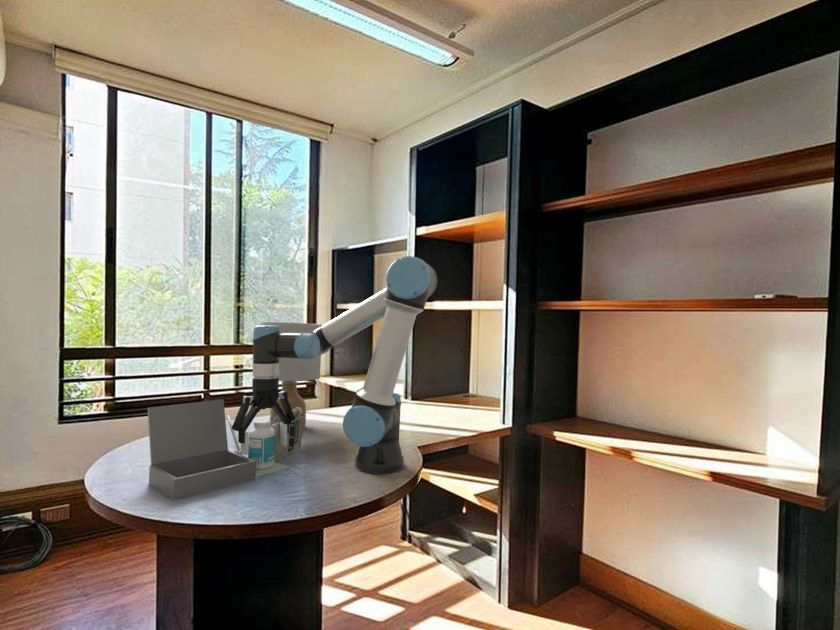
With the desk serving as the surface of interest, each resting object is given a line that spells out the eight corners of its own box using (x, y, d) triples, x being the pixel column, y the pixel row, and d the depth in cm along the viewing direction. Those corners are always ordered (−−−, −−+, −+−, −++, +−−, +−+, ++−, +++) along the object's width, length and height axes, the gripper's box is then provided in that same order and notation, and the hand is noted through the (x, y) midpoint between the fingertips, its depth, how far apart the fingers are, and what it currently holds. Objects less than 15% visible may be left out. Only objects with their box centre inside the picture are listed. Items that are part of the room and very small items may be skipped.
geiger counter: (281, 416, 146) (312, 404, 171) (262, 414, 147) (295, 403, 172) (278, 462, 146) (309, 444, 171) (258, 460, 147) (292, 442, 172)
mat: (287, 468, 143) (287, 466, 143) (254, 477, 134) (254, 475, 134) (267, 460, 150) (267, 458, 150) (234, 468, 141) (234, 466, 141)
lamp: (279, 418, 207) (283, 322, 207) (328, 425, 200) (332, 324, 200) (242, 430, 184) (247, 322, 185) (296, 438, 177) (301, 325, 177)
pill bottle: (271, 461, 147) (273, 417, 147) (276, 468, 140) (278, 422, 140) (245, 464, 143) (247, 419, 143) (249, 471, 137) (251, 424, 137)
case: (259, 478, 134) (262, 408, 134) (173, 500, 116) (177, 419, 116) (224, 462, 146) (227, 398, 146) (142, 480, 128) (145, 407, 128)
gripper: (293, 372, 154) (291, 439, 154) (219, 379, 135) (218, 455, 135) (307, 374, 149) (306, 443, 149) (233, 382, 130) (232, 461, 130)
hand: (264, 449), depth 142 cm, fingers open, 12 cm apart
